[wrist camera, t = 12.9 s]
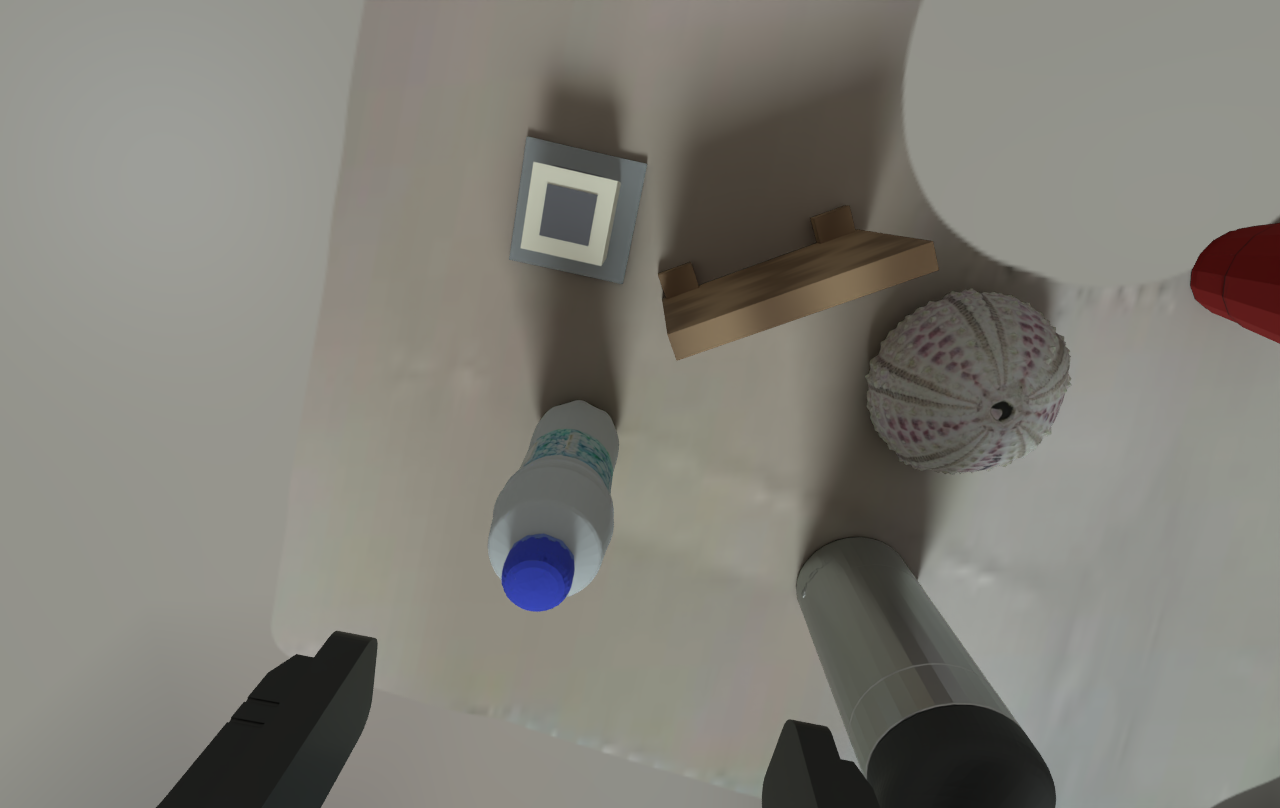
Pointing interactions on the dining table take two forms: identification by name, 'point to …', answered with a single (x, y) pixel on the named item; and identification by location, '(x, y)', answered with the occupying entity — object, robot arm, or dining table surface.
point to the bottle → (556, 508)
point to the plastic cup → (1242, 278)
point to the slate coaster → (625, 213)
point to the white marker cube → (570, 213)
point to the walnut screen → (789, 283)
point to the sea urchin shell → (968, 383)
